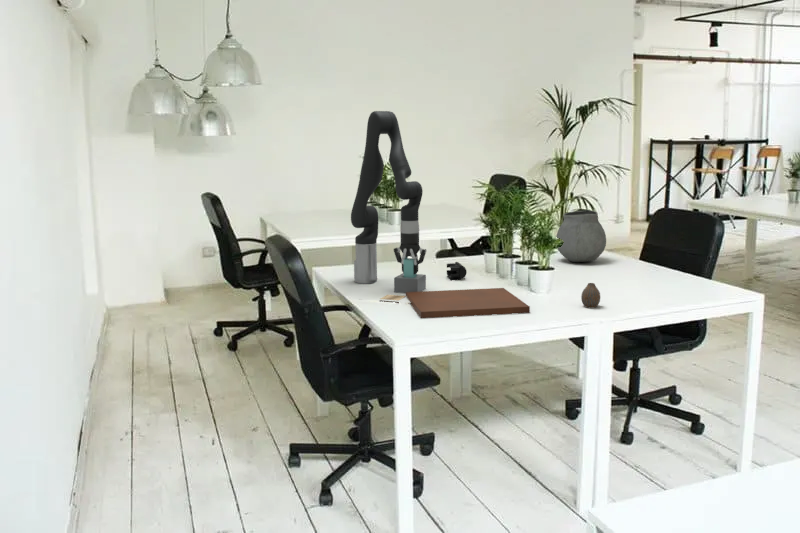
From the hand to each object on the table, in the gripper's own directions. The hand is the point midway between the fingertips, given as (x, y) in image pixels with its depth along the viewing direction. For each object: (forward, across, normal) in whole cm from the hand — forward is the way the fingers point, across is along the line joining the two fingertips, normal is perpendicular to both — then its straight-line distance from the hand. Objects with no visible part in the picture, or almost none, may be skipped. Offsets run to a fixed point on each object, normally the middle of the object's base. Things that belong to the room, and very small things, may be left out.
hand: (410, 273), depth 306 cm
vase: (+9, +72, 0) cm, 73 cm away
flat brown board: (+9, +27, -13) cm, 31 cm away
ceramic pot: (+9, +55, +94) cm, 109 cm away
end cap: (+9, +9, +35) cm, 37 cm away
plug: (+7, 0, 0) cm, 7 cm away
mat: (+8, -2, -14) cm, 16 cm away
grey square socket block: (+8, 0, 0) cm, 8 cm away
